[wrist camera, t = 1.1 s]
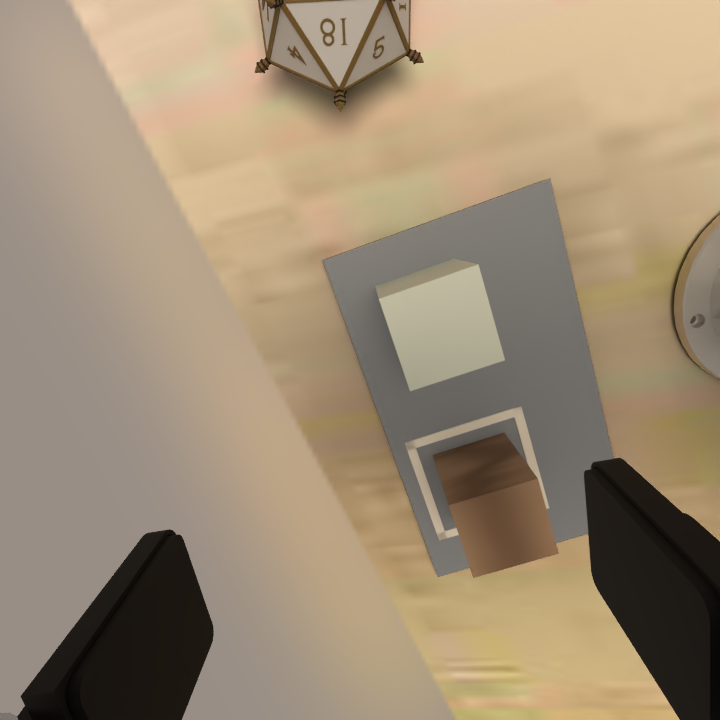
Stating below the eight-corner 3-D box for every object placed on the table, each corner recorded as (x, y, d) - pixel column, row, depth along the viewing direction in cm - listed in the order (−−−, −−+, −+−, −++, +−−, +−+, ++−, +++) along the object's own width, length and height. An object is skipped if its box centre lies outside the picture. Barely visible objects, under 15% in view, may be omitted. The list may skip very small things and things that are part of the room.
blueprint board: (544, 179, 27) (550, 178, 26) (621, 515, 33) (628, 523, 32) (323, 259, 28) (322, 260, 27) (435, 569, 34) (437, 578, 33)
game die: (324, 91, 29) (209, 117, 22) (309, -94, 24) (155, -133, 17) (457, 92, 25) (367, 124, 19) (472, -128, 20) (356, -196, 14)
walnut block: (504, 432, 30) (537, 478, 25) (522, 495, 32) (558, 553, 26) (432, 454, 31) (448, 505, 25) (453, 516, 32) (473, 577, 26)
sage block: (453, 258, 28) (478, 264, 22) (476, 335, 29) (505, 360, 23) (375, 286, 28) (378, 299, 22) (400, 360, 29) (410, 391, 23)
